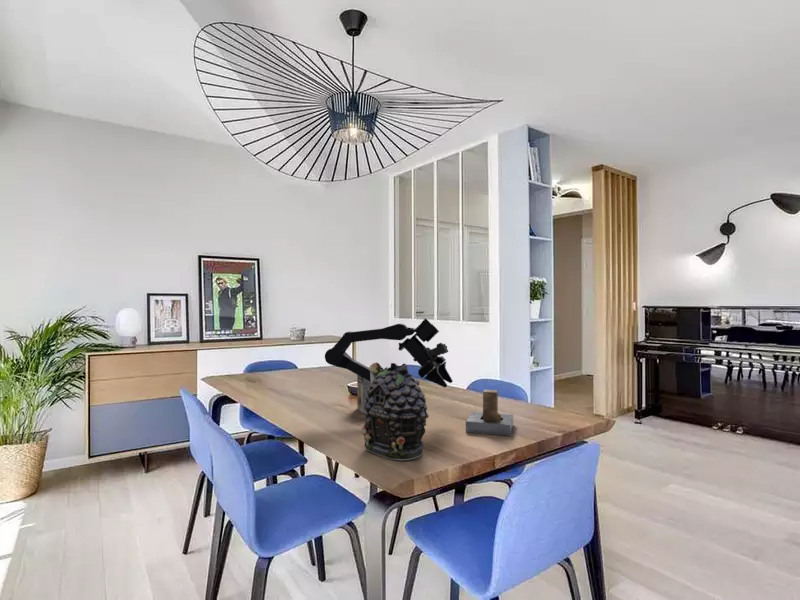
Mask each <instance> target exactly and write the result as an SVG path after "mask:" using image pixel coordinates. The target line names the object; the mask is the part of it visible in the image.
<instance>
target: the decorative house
mask: <svg viewBox="0 0 800 600" xmlns="http://www.w3.org/2000/svg"><path fill="white" fill-rule="evenodd" d="M369 370H370V380H371V383H370V387H369V388H368V389H367V396H366V399H365V406H364V410H365V413H364V415H365V423H364V425H363V427H362V429H361V431H360V434H362V435H363V438H364V448H365V450H366V451H368V452H370V453H372V454H374V455H377V456H379V457H384V458H386V459H390V460H394V461H395V460H396V461H410V460H414V459H416V458H419V457H421V456H423V454H424V442H423V440H422V439H423V436H424V435H425V434H426V429H425V427H426V426H427V419H428V418H429V417H430V415H429V414H428V412H427V411H428V406H427V404H426V402H427V401H426V399H427V398H426V397H425V395H426V394H424V393H423V390H422V388H421V387H420V381H419V380H416V379H415V377H414V376H413V375H412V374H410V372H409V369H408V366H407V364H406V363H403V364H401V365H398V363H395V362H393V363H392V362H391V363H390V367H389V366H386V367H382V365H380V363H378V362H373V363H372V364H370V365H369Z"/></svg>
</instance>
